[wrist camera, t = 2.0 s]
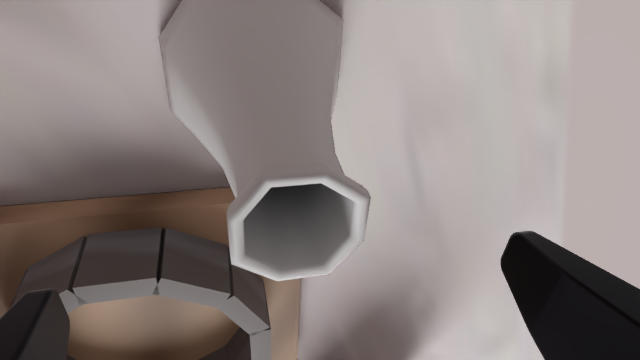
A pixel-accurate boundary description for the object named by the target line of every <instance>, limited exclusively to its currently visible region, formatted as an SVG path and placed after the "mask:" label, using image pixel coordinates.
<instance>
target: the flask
mask: <svg viewBox="0 0 640 360" xmlns="http://www.w3.org/2000/svg"><path fill="white" fill-rule="evenodd" d="M342 29H343V20H342V19H341V18H340V17H339V16H338V15H337V14H335V13H334V12H333V11H332V10H331V9H330V8H328V7H327V6H326V5H325V4H324V3H323V2H321V1H320V0H182V1H181V2H180V4H179V6H178V7H177V9H176V10H175V12H174V14H173V15H172V17H171V18H170V20H169V22H168V23H167V25H166V27H165V28H164V30H163V31H162V33H161V35H160V36H159V42H160V48H161V54H162V61H163V67H164V73H165V79H166V86H167V92H168V98H169V104H170V109H171V111H172V112H173V113H174V114H175V115H176V116H177V118H178V119H179V120H180V121H181V122H182V123H183V124H184V125H185V126H186V127H187V128H188V129H189V130H190V131H191V132H192V133H193V134H194V135H195V136H196V137H197V138H198V139H199V140H200V141H201V143H202V144H203V145H204V146H205V147H206V149H207V150H208V151H209V152H210V153H211V155H212V156H213V157H214V158H215V159H216V160H217V162H218V163H219V164H220V165H221V166H222V168H223V170H224V172H225V175H226V177H227V179H228V182H229V184H230V186H231V189H232V191H233V193H234V196H235V199H234V201H233V202H232V203H231V204H230V206H229V207H228V210H227V213H226V215H227V226H228V237H229V248H230V258H231V264H232V265H235V266H237V267H240V268H243V269H246V270H248V271H251V272H254V273H256V274H259V275H262V276H264V277H267V278H270V279H272V280H275V281H283V280H291V279H298V278H306V277H313V276H321V275H329V274H330V273H331V272H332V271H333V270H334V269H335V268H336V267H337V266H338V265H339V264H340V263H341V262H342V261H343V260H344V259H345V258H346V257H347V256H348V255H349V254H350V253H351V252H353V251H354V250H355V249H356V248H357V247H358V246H359V245H360V244H361V243H362V242H363V241H364V236H365V230H366V223H367V217H368V211H369V205H370V198H371V197H370V195H369V192H368V191H367V190H366V189H365V188H364V187H363V186H362V185H360V184H359V183H357V182H355V181H354V180H352V179H350V178H349V177H347V176H345V175H344V172H343V170H342V168H341V165H340V163H339V161H338V158H337V156H336V154H335V148H334V140H333V133H332V125H331V118H332V114H333V109H334V105H335V100H336V95H337V87H338V75H339V64H340V52H341V41H342Z"/></svg>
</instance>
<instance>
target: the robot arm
mask: <svg viewBox="0 0 640 360" xmlns="http://www.w3.org/2000/svg"><path fill="white" fill-rule="evenodd" d="M501 269H502V271H503V274H504V276H505V278H506V280H507V283H508V285H509V287H510V290H511V292H512V294H513V296H514V299H515V301H516V303H517V305H518V308H519V310H520V312H521V315H522V317H523V319H524V321H525V323H526V326H527V328H528V330H529V332H530V334H531V336H532V338H533V339H534V341H535V343H536V345H537V347H538V349H539V350H540V352H541V354H542V356H543V357H544V359H545V360H640V289H638V288H636V287H635V286H633V285H631V284H629V283H627V282H625V281H624V280H622V279H620V278H618V277H616V276H614V275H612V274H611V273H609V272H607V271H605V270H603V269H601V268H600V267H598V266H596V265H594V264H592V263H590V262H589V261H587V260H585V259H583V258H581V257H579V256H578V255H576V254H574V253H572V252H570V251H568V250H566V249H565V248H563V247H561V246H559V245H557V244H556V243H554V242H552V241H550V240H548V239H546V238H545V237H543V236H541V235H539V234H537V233H535V232H533V231H523V232H516V233H513V234H512V235H511V237H510V239H509V241H508V243H507V245H506V248H505V250H504V252H503V255H502V257H501ZM69 334H70V320H69V316H68V314H67V311H66V309H65V307H64V305H63V302H62V300H61V298H60V296H59V294H58V292H57V291H56V290H55V289H51V288H49V289H41V290H33V291H29V292H27V293H25V294H24V295H23V296H22V297H21V298H20V299H19V300H18V301H17V302H16V303H15V304H14V305H13V306H12V307H11V308H10V309H9V310H8V311H7V312H6V313H5V314H4V315H3V316H2V317H1V318H0V360H66V357H67V350H68V342H69Z"/></svg>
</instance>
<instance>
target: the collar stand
mask: <svg viewBox="0 0 640 360" xmlns="http://www.w3.org/2000/svg"><path fill="white" fill-rule="evenodd" d="M234 199H235V196H234V193H233V191H232V189H231V187H228V188H216V189H204V190H192V191H180V192H168V193H156V194H144V195H132V196H120V197H108V198H96V199H84V200H72V201H60V202H48V203H36V204H24V205H12V206H0V318H1V317H2V316H3V315H4V314H5V313H6V312H7V311H8V310H9V309H10V308H11V307H12V306H13V305H14V304H15V303H16V302H17V301H18V300H19V299H20V298H21V297H22V296H23V295H24V294H25V293H27V292H29V291H33V290H41V289H49V288H51V289H55V290H56V291H57V292H58V294H59V296H60V298H61V300H62V302H63V305H64V307H65V309H66V311H67V314H68V316H69V320H70V334H69V342H68V350H67V357H66V360H297V351H298V329H299V307H300V285H301V278H298V279H291V280H283V281H275V280H272V279H270V278H267V277H264V276H262V275H259V274H256V273H254V272H251V271H248V270H246V269H243V268H240V267H237V266H235V265H232V264H231V258H230V248H229V237H228V226H227V215H226V213H227V210H228V207H229V206H230V204H231V203H232V202H233V201H234Z"/></svg>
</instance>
